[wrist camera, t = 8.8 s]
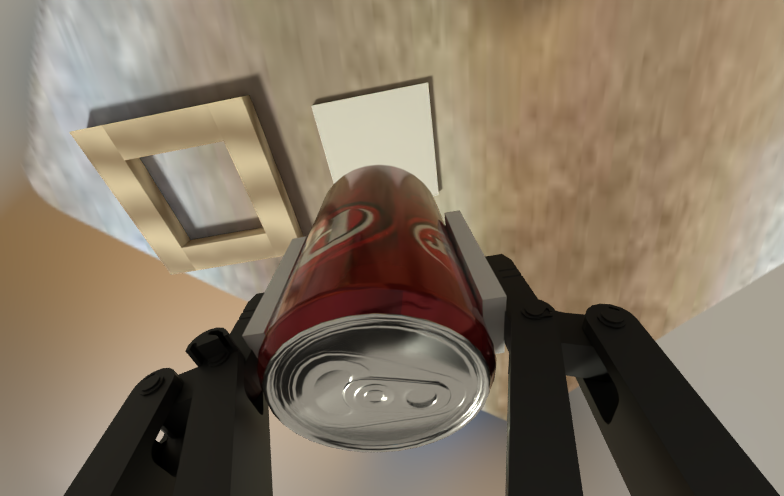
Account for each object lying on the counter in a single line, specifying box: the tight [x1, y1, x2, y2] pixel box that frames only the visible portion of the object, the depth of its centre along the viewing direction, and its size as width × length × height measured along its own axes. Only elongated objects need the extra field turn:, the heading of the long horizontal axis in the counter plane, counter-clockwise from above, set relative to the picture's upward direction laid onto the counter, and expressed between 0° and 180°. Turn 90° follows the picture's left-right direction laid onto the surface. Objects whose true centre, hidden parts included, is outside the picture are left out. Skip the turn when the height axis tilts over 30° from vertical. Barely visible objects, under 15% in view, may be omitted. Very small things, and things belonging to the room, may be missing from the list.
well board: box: [70, 95, 303, 274], centre depth 34 cm, size 18×18×2 cm
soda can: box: [257, 165, 496, 452], centre depth 14 cm, size 7×7×12 cm
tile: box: [312, 82, 439, 196], centre depth 33 cm, size 12×12×1 cm
